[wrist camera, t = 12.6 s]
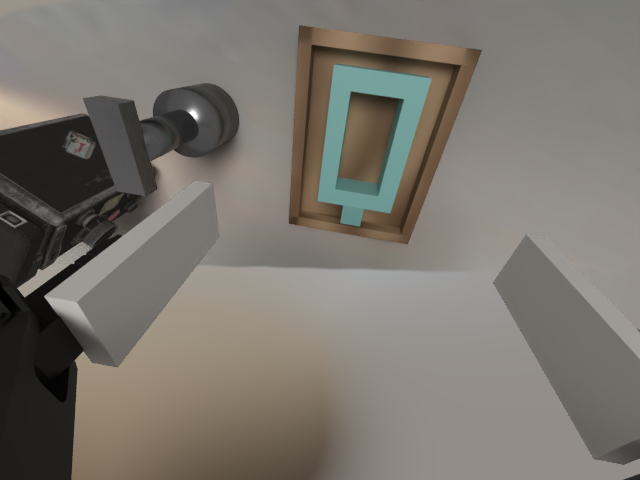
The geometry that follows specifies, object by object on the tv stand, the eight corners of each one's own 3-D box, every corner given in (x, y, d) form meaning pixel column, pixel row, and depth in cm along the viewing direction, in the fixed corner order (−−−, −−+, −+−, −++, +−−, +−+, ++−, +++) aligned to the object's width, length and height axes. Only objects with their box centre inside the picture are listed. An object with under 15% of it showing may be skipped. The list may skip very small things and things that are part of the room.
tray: (293, 213, 31) (289, 223, 29) (304, 27, 21) (299, 25, 19) (405, 232, 30) (407, 244, 28) (471, 50, 20) (481, 50, 19)
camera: (59, 168, 32) (-128, 239, 20) (82, 100, 27) (-151, 139, 15) (138, 225, 35) (19, 314, 23) (173, 174, 30) (43, 255, 18)
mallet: (192, 139, 28) (94, 187, 18) (181, 77, 24) (55, 94, 14) (240, 147, 27) (168, 200, 17) (236, 85, 24) (146, 108, 14)
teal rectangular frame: (337, 63, 22) (333, 64, 19) (424, 75, 21) (431, 78, 19) (319, 205, 29) (315, 218, 27) (383, 215, 29) (384, 230, 26)
